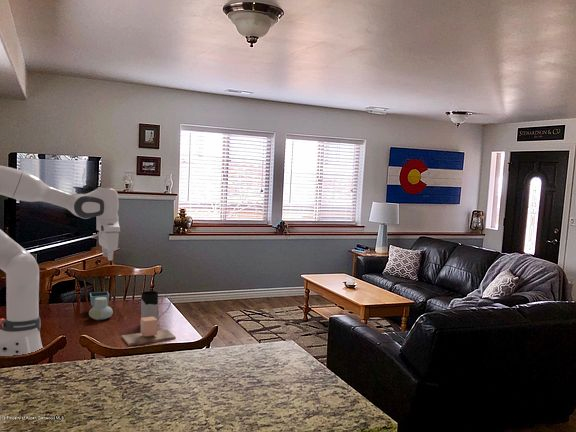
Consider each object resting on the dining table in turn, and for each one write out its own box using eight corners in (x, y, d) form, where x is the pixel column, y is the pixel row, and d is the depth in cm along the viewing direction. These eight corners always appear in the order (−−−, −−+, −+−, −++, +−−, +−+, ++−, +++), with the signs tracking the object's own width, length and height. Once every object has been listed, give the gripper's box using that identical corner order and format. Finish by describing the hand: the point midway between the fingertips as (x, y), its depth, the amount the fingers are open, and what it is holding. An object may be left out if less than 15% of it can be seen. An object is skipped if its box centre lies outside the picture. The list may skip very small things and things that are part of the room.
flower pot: (89, 309, 263) (89, 292, 262) (107, 308, 267) (107, 291, 266) (90, 314, 255) (90, 296, 254) (109, 312, 259) (109, 295, 258)
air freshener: (115, 317, 250) (115, 297, 250) (105, 321, 242) (105, 301, 242) (96, 315, 253) (96, 295, 252) (85, 319, 245) (85, 299, 244)
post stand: (128, 345, 210) (128, 326, 209) (121, 337, 220) (121, 319, 219) (175, 338, 220) (175, 320, 219) (166, 331, 230) (167, 314, 230)
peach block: (144, 336, 216) (144, 321, 215) (140, 332, 221) (140, 317, 220) (157, 334, 219) (157, 319, 218) (153, 331, 224) (153, 316, 223)
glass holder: (139, 322, 243) (139, 291, 242) (169, 320, 248) (170, 289, 247) (140, 327, 235) (140, 295, 234) (171, 325, 240) (172, 293, 239)
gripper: (94, 223, 219) (95, 255, 220) (104, 228, 202) (105, 262, 203) (110, 223, 223) (110, 254, 224) (121, 227, 205) (121, 261, 206)
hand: (107, 258), depth 213 cm, fingers open, 8 cm apart
